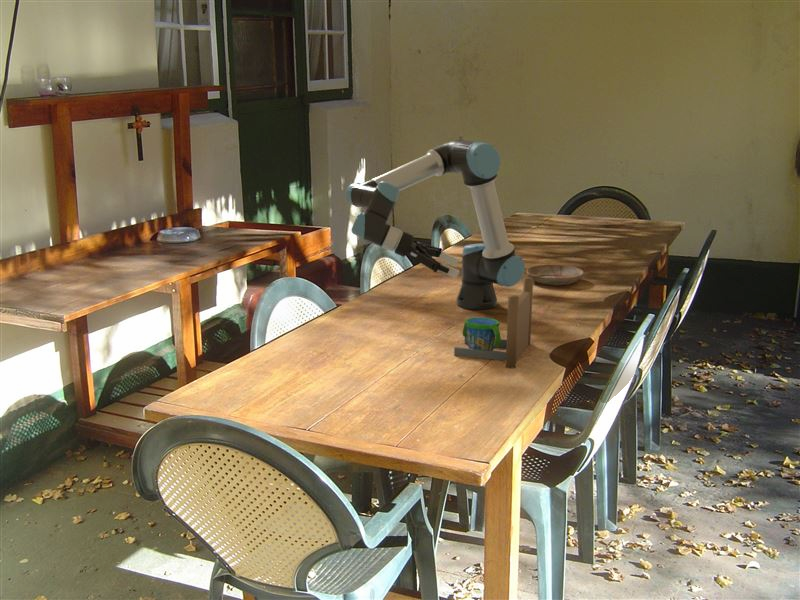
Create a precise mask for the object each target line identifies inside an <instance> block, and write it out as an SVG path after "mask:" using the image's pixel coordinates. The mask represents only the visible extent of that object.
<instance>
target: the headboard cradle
mask: <svg viewBox="0 0 800 600" xmlns="http://www.w3.org/2000/svg"><path fill="white" fill-rule="evenodd" d="M533 286H534V280H533V278H531V277H529V276H526V277H523V285H522V287H523V288H522V293H521V294H520V296H519V295H516V294H511V295H508V298H507V299H508V301H507V320H506V321H507V324H506V325H507V327H506V338H501V344H500V345H499V346H498V347H497V348H506V351H500V350H492V351H491V350H482V349H472V348H468V347H462V346H461V347H460V346H454V348H453V349H454V351H453V356H458V357H467V358H475V359H477V358H479V359H484V360H485V359H486V360H494V361H496V360H497V361H503V362H504V361H505V368H507V369H515V368H517V364H518V362H519V360H520V359H521V357H522V355H523V354H524V352H525V350H526V349H527V348H528V346H530V345H531V335H532V318H533V317H532V313H533V311H532V310H533V293H534V292H533V291H534V290H533V289H534V287H533ZM466 343H467V345H468V338H467V337H464V344H466Z"/></svg>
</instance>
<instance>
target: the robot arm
mask: <svg viewBox="0 0 800 600" xmlns="http://www.w3.org/2000/svg"><path fill="white" fill-rule="evenodd" d="M500 166H501V155H500V154H499V152H498V150H497V148H495V146H494V145H492V144H490V143H487V142H485V141H484V142H483V141H473V140H465V139H454V140H451V141H448V142H445V143H443V144H441V145H438V146H436V147H433V148H432V149H428V150H427V151H426V154H425V155H422V156H421V157H419V158H418V157H417V158H416V159H413V160H412V161H409V162H407V163H405V164H402V165H401V166H399V167H395V168H393V169H392V170H389V171H388V172H385V173H383V174H381V175H379V176H376V177H374V178H371V179H370V180H368V181H365V182H363V183H359V182H357V183H351V184H349V185H348V187H346V189H345V199H346V202H348V204H350V205H352V206H354V207H356V208H362V209H366V211H365V212H362V211H360V212H358V213H357V215H356V218H355V220H354V222H353V225H352V227H351V229H350V231H351V233H352V234H353V235H355V236H357V237H359V238H361V239H363V240H365V241H368V242H370V243H372V244H374V245H376V246H379V247H381V248H383V250H384V251H389V252H393V251H394V254H396V255H398V256H400V257H403V258H405V257H406V256H407V254H408V253H409V258H411V259H413V260H416V261H417V262H419V263H420V264H421V265H423V266H425V267H427V268H428V269H429V270H430V271H431V270H432V271H433V272H434V273H438V272H440V273H442V274H444V275H446V276H448V277H450V278H453V279H455V280H457V278H458V276H459V274H460V272H461V285H460V288H459V291H458V294H457V297H456V305H457V306H458V307H460V308H463V309H468V310H488V309H493V308H496V307H498V306H497V305H498V298H497V294H496V291H495V288H494V284H496V285H498V286H500V287H505V288H509V287H514V286H516V285H518V283H519V282H520V281H521V280H522V277H523V276H524V275H525V272H526V264H525V261H524V259H523V258H522V257H521V256H519V255H517V254H516V249H515V245H514V244H513V243H511V242H509V238H508V234H507V229H506V226H505V222H504V217H503V214H502V209H501V206H500V201H499V197H498V193H497V189H496V188H497V187H496V184H495V181H496V180H497V178H498V172H499V170H500V168H499V167H500ZM445 174H460V175H461V177H462V181H463V185H464V186H466V187H468V188H469V189H470V193H471V197H472V202H473V206H474V209H475V214H476V218H477V222H478V226H479V229H480V232H481V233H480V234H481V239H482V242H483V243H482V242H480V243H471V244H466V245H465V246H463V248H462V255H461V270H459V269H457V267H458V264H459V262H460V258H458V257H455V256H453V255H451V254H449V253H446V252H445V251H443V248H442V247H437V246H435V245H434V246H433V245H432V244H431V245H430V244H428V243H424V242H422V241H418V240H417V239H414V235H412V234H410V233H408V232H405V231H402V229H399V228H397V227H395V226H393V225H390V224H388V223H387V222H388V220H389V218H390V215H391V213H392V211H393V210H394V207H395V205H396V203H397V201H398V197H399V195H400V191H402V190H405V189H407V188H410V187H412V186H414V185H416V184H418V183H421V182H423V181H425V180H427V179H429V178H431V177H434V176H436V177H441V176H443V175H445ZM435 258H437V259H438V260H439V261H438V260H437V259H435ZM440 261H442V262H440ZM443 262H444V263H443ZM445 263H446V264H445ZM448 264H449V265H448ZM452 266H453V267H452ZM454 267H455V268H454Z"/></svg>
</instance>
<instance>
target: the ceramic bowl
mask: <svg viewBox="0 0 800 600" xmlns="http://www.w3.org/2000/svg"><path fill="white" fill-rule="evenodd" d="M525 272H526V275H527V277H531V278H533V282H536V283H539V284H543V285H547V286H567V285H571V284H575V283H578V282H579V281H581V280H582V279H583V277H584V274H585V273H584V270H583V269H581V268H578V267H576V266H572V265H566V264H565V265H564V264H539V265H533V266H530V267H528V268H526V270H525Z"/></svg>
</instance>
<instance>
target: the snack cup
mask: <svg viewBox="0 0 800 600" xmlns="http://www.w3.org/2000/svg"><path fill="white" fill-rule="evenodd" d="M499 327H500V321H499V320H497V319H494V318H488V317H478V316H477V317H468V318H466V319H465V321H464V325H463V328H462V336H463V337H464V338H465V337H467V338H468V344H467V346H468V347H467V348H472V349H482V350H491V351H494V348H499V347H498V346H499V345H500V344H501V339H502V338H501V333H500V329H499Z"/></svg>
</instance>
